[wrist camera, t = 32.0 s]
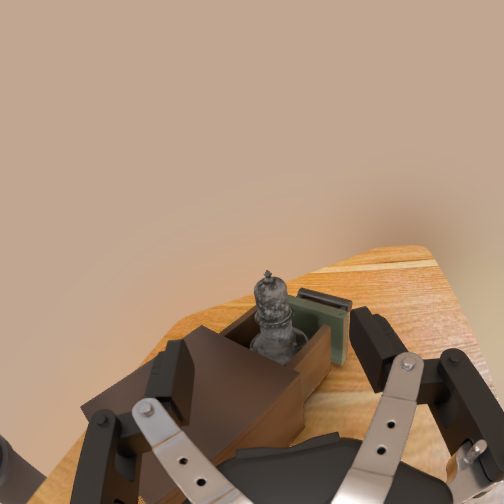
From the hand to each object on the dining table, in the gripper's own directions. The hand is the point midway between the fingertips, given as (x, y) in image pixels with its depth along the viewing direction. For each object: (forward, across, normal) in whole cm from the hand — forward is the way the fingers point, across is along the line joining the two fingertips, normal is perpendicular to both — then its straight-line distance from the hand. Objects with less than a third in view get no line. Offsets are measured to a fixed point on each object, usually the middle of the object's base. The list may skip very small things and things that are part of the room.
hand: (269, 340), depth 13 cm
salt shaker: (+11, -1, +14) cm, 18 cm away
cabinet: (+3, +7, +16) cm, 18 cm away
